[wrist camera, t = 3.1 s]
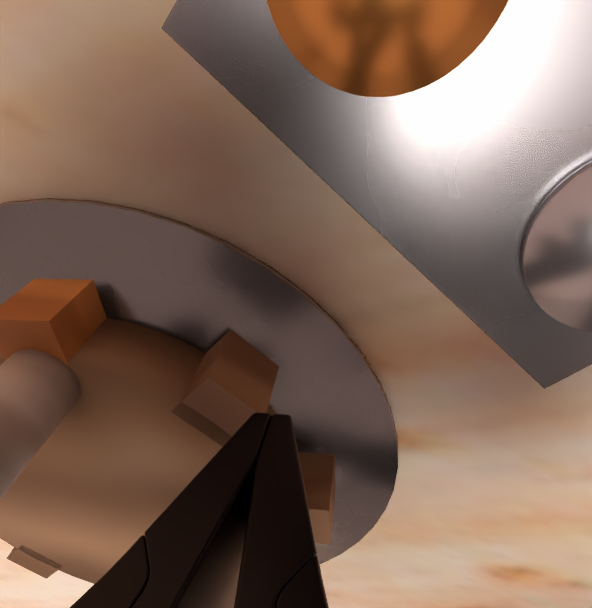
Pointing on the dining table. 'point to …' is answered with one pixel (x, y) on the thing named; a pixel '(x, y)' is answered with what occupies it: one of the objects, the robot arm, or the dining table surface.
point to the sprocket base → (222, 329)
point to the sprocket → (115, 426)
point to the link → (438, 141)
